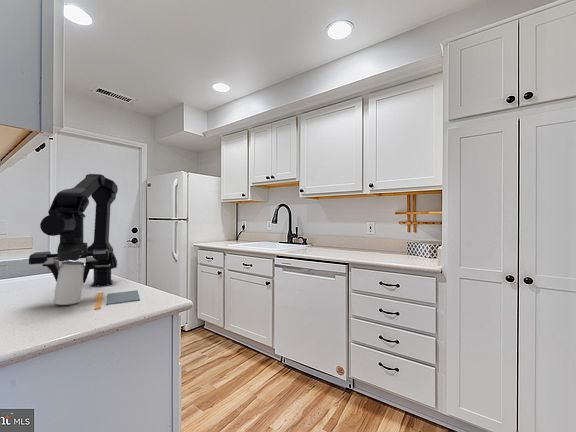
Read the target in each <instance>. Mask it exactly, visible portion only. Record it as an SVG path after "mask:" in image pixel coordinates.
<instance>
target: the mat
mask: <svg viewBox="0 0 576 432" xmlns="http://www.w3.org/2000/svg"><path fill="white" fill-rule="evenodd" d="M138 291H139V290H137V289H136V290H135V289H134V290H128V291H121V292H120V291H119V292H118V291H117V292H112V293H110V292H109V293H106V294H107V295H106V302H105V305H106V306H109V305H116V304H118V305H119V304H124V303H133V302H138V301H139V302H140V301H141V298H140V294H139V292H138Z"/></svg>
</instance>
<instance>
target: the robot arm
mask: <svg viewBox="0 0 576 432" xmlns="http://www.w3.org/2000/svg"><path fill="white" fill-rule="evenodd" d="M118 189H119V188H118V185H117V184H116V182H115V181H114V180H112V179H110V178H108V177H105V176H104V175H103V174H99V173H98V174H97V173H89V174H86V175H85V177H84V178H83V179H82V180H81V181H79V183H77V184H76V185H75V186H74V187H72V188H65V189H63V190H60V191H58V192H57V193H56V195H55V196H54V198H53V200H52V202H51V204H50V208H49V209H48V212H47V213H48V215H46V216H44V217H43V218H42V220H41V221H40V223H39V224H40V225H39V226H40V229H41V232H42V233H43V234H44V235H47V236H50V237H55V236H59V244H58V247H57V250H56V251H57V253H51V251H36V252H33V253H31V254H30V255H29V256H28V265H40V264H41V265H42V267H46V268H48V269H49V270H50V272H51V274H52V275H53V277H54V280H55V282H57V278H58V270H59V267H60V262H66V261H72V262H76V261H79V259H85V262H84V267H85V271H84V277H83V284H85V283H86V282H87V280H88V279H87V278H88V277H89V273H90V271H91V270H93V282H92V284H91V287H100V286H111V285H113V279H112V270H113V269H117V267H118V260H117V258H116V255H115V252H114V248H113V246H112V244H111V243H110V242H109V241H110V239H109V238H110V224H111V223H110V221H111V219H110V218H111V205H112V203H113V202H114V201H116V197H117V194H118ZM90 197H91V198H92V200H93V201H94V202H95V215H94V217H95V218H94V219H95V220H94V230H93V242H92V243H91V244H90V245H88V242H84V218H86V215H85V213H84V212H85V211H86V209H87V208H88V206H89V204H90V199H89V198H90Z"/></svg>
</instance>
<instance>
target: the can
mask: <svg viewBox="0 0 576 432" xmlns="http://www.w3.org/2000/svg"><path fill="white" fill-rule="evenodd" d="M84 271H85V262H82V261H61V264H60V265H59V270H58V278H57V282H56V281H55V282H56V285H55V290H54V295H53V296H54V297H53V303H54V304H55V305H57V306H71V305H77V304H79V303H80V302H81V299H82V293H83V286H84V283H83V277H84Z"/></svg>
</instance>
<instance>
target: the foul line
mask: <svg viewBox="0 0 576 432" xmlns="http://www.w3.org/2000/svg"><path fill="white" fill-rule="evenodd" d="M103 298H104V291H103V292H102V291H101V292H97V296H96V300H95V306H94V308H93V309H94V310H96V311H97V310H101V309H102V303H103Z"/></svg>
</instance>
